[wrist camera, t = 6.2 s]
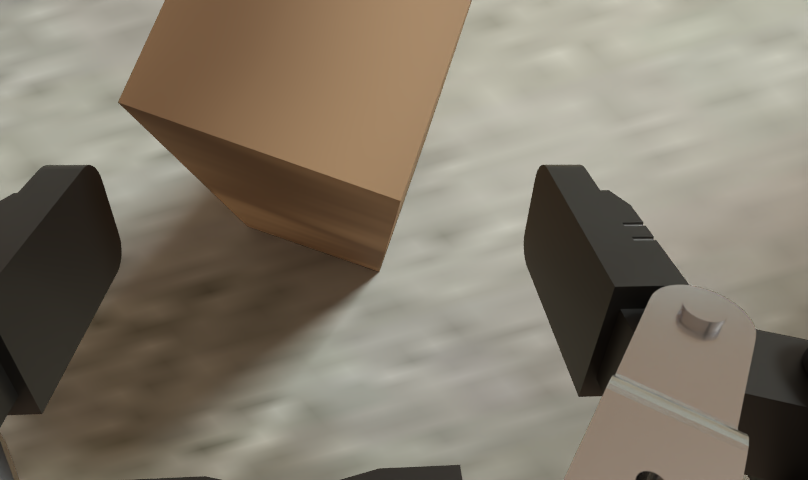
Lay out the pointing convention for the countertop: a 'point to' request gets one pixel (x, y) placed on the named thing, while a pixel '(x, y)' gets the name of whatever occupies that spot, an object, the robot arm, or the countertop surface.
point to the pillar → (299, 108)
